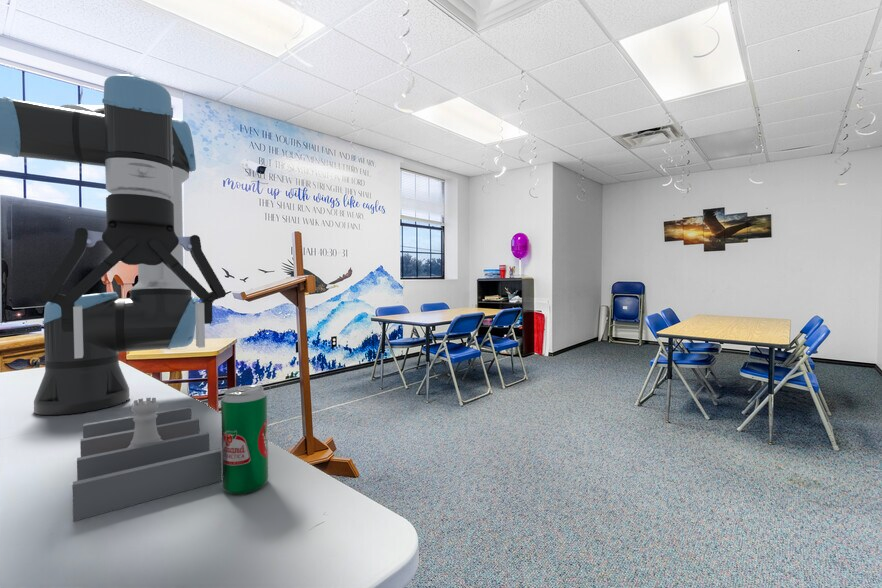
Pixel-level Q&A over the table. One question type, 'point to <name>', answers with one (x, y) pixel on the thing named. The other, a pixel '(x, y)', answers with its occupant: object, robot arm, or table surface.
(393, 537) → the table surface
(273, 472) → the table surface
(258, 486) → the soda can
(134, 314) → the robot arm
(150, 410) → the rook chess piece
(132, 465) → the stepped slat stand
